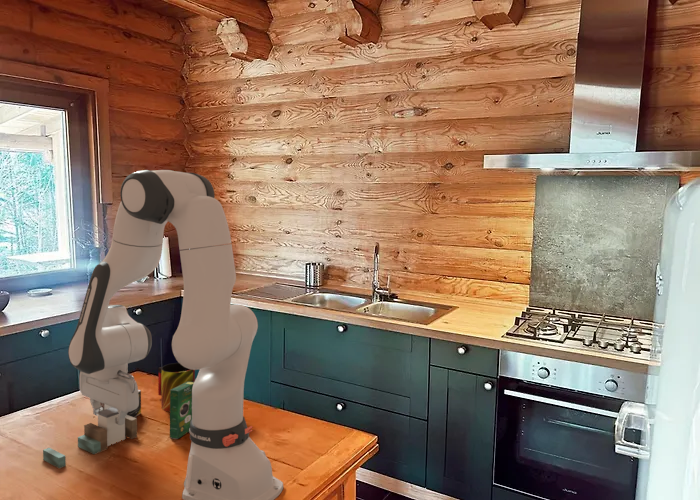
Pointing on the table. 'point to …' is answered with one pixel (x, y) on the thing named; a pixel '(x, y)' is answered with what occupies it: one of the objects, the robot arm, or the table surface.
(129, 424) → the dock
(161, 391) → the mug
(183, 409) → the coffee box
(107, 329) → the robot arm
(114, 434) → the grey rectangular block
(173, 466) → the table surface
